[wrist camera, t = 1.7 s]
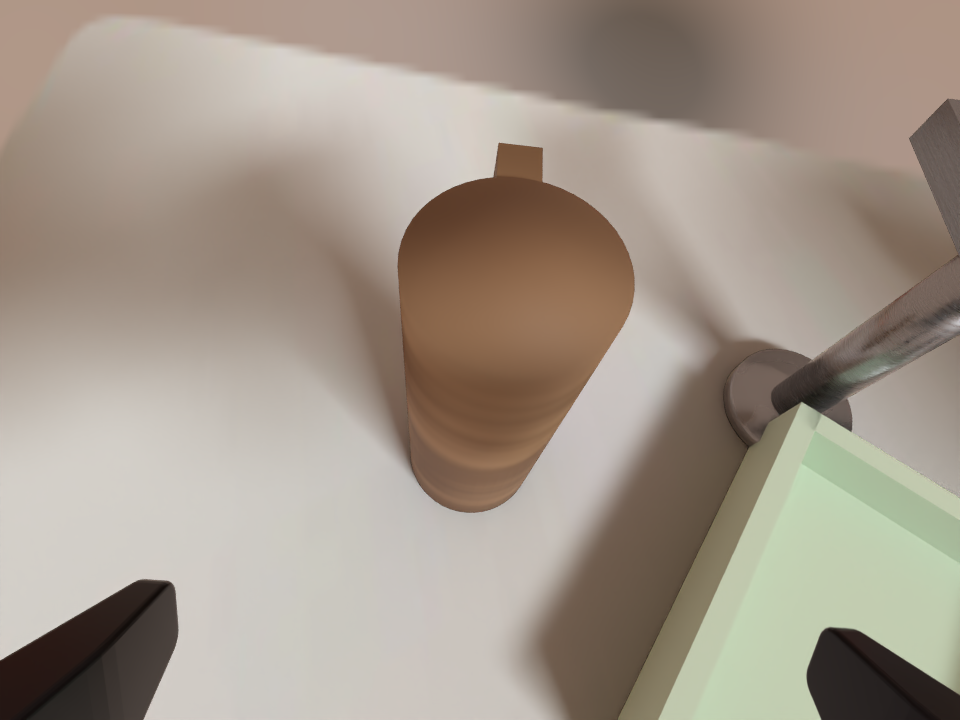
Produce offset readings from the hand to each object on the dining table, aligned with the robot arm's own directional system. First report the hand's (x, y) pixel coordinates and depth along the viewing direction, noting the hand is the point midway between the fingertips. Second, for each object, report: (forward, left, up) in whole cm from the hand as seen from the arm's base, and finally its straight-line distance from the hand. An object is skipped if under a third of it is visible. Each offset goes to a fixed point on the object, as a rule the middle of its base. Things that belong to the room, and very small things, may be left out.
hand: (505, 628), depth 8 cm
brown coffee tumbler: (+5, +3, -12) cm, 14 cm away
